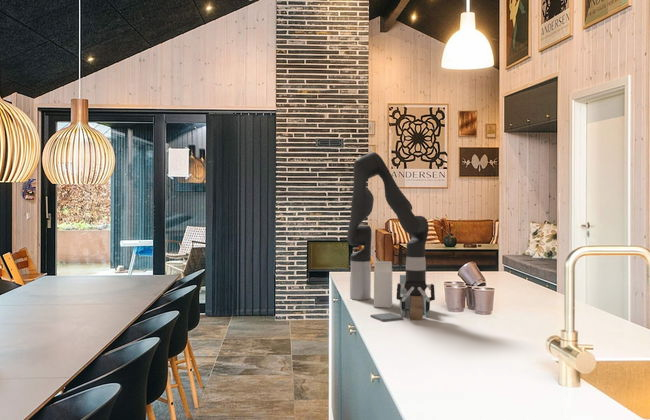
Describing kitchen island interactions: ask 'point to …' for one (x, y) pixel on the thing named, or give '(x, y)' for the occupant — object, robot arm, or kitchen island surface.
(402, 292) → the shelf bay
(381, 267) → the milk carton
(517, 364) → the kitchen island surface
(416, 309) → the walnut block
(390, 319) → the slate pad
